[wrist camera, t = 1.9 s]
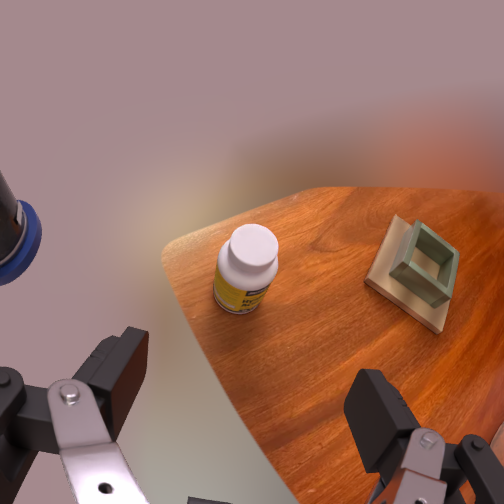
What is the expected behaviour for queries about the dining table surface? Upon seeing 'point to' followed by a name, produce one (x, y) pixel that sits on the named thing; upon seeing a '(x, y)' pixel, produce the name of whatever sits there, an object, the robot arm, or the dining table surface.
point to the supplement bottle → (245, 268)
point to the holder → (415, 271)
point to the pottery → (499, 444)
